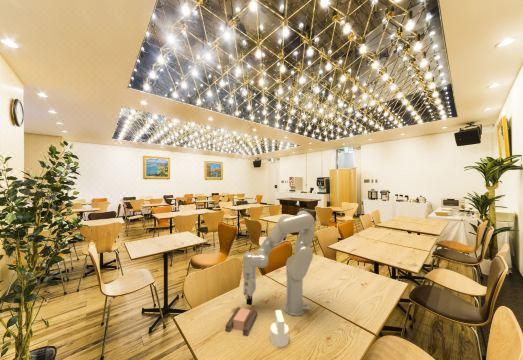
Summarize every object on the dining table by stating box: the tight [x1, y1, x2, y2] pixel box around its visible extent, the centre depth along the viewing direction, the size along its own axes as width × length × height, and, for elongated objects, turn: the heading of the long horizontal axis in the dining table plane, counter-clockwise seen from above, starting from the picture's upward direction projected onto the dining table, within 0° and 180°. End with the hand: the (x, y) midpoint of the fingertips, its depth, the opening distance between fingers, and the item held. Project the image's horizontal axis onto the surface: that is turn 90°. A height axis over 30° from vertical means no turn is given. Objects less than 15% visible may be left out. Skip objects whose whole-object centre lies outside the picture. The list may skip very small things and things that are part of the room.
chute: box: [225, 306, 258, 337], centre depth 115 cm, size 12×16×3 cm
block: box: [232, 307, 251, 331], centre depth 115 cm, size 6×10×5 cm, turn 163°
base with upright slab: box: [269, 309, 290, 348], centre depth 103 cm, size 9×9×12 cm
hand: (249, 304), depth 127 cm, fingers closed
